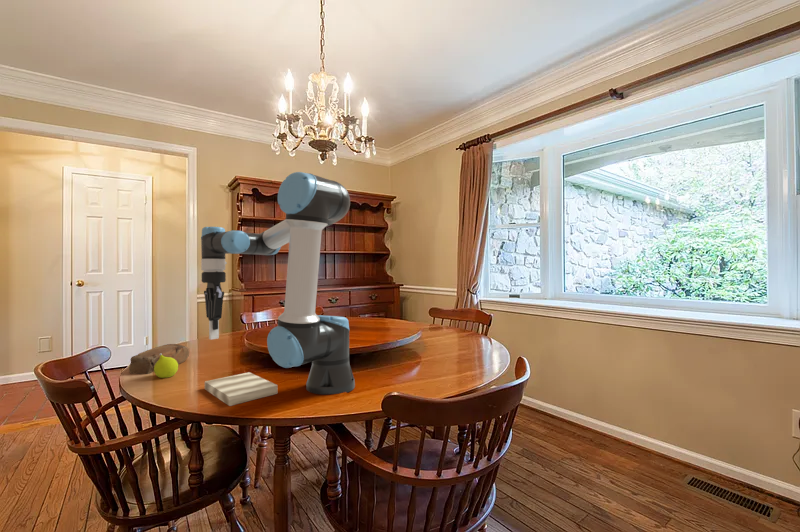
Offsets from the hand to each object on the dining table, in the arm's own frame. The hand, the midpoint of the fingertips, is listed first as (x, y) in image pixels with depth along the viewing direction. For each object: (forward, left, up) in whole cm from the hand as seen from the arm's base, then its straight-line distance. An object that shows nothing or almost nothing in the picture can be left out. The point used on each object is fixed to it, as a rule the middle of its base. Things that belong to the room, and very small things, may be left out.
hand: (213, 338), depth 128 cm
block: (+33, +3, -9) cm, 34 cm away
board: (-23, 0, -13) cm, 26 cm away
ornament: (+10, +12, -13) cm, 21 cm away
